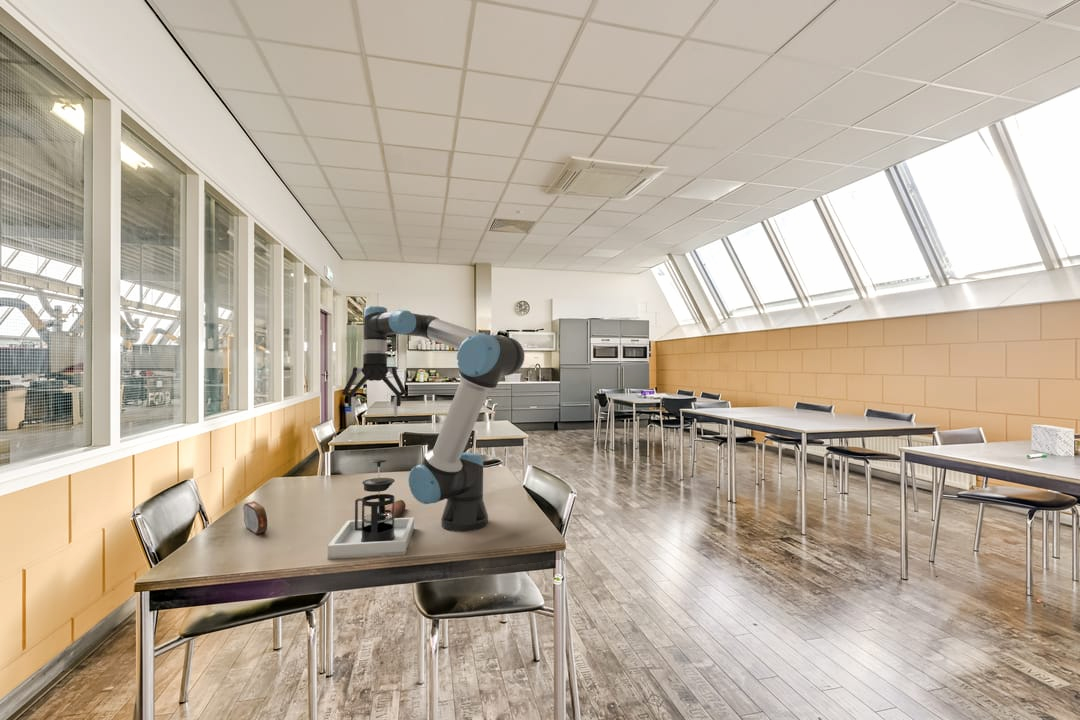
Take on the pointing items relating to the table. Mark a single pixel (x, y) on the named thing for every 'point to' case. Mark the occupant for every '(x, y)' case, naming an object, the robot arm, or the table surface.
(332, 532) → the table surface
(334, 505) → the table surface
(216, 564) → the table surface
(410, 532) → the tray
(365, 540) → the french press
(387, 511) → the sunglasses case
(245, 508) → the tin
